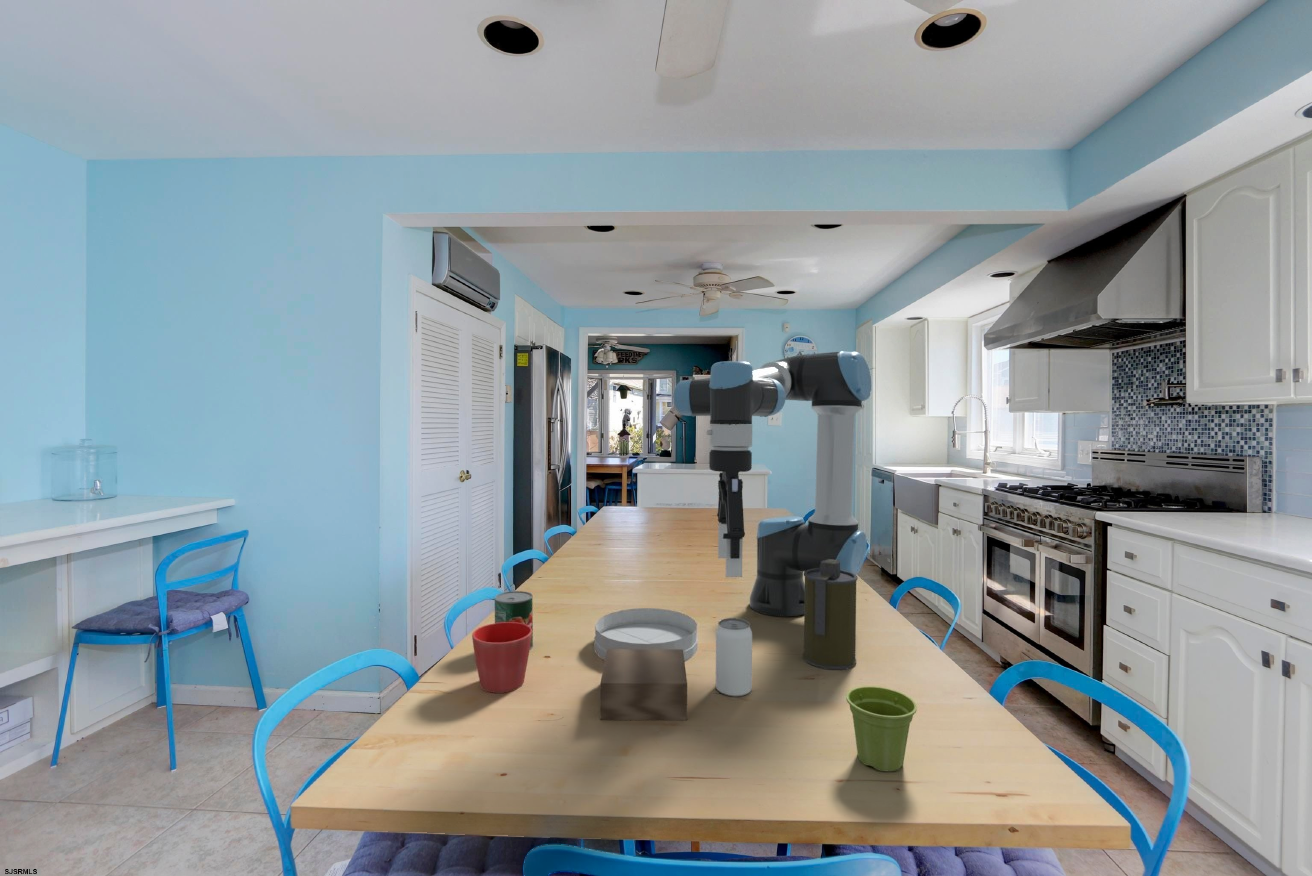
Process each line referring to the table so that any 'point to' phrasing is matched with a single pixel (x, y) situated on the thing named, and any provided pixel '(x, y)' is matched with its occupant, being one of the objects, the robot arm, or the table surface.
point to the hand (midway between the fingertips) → (729, 566)
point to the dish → (646, 631)
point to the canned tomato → (515, 608)
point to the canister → (830, 616)
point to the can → (734, 657)
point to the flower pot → (502, 655)
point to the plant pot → (881, 725)
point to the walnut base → (643, 685)
